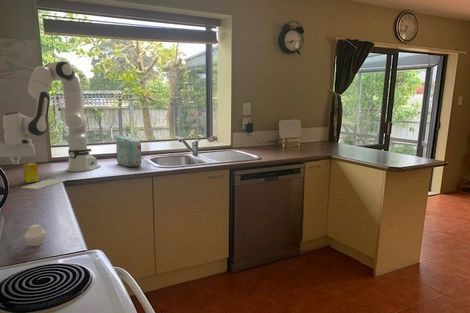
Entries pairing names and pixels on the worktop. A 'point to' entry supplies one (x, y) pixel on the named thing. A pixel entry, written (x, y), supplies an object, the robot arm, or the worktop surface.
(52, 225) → the worktop surface
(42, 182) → the mat
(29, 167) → the supplement box
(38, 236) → the muffin
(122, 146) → the lunch box
